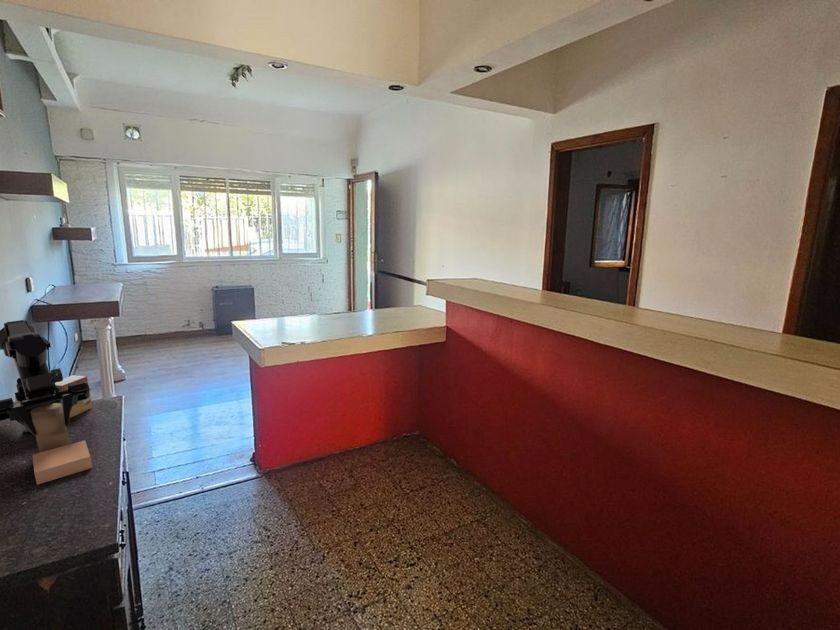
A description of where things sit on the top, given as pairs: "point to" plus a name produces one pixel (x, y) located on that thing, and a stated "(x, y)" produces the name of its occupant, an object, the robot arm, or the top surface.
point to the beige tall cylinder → (50, 426)
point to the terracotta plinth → (61, 462)
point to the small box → (79, 406)
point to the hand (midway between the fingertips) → (51, 430)
